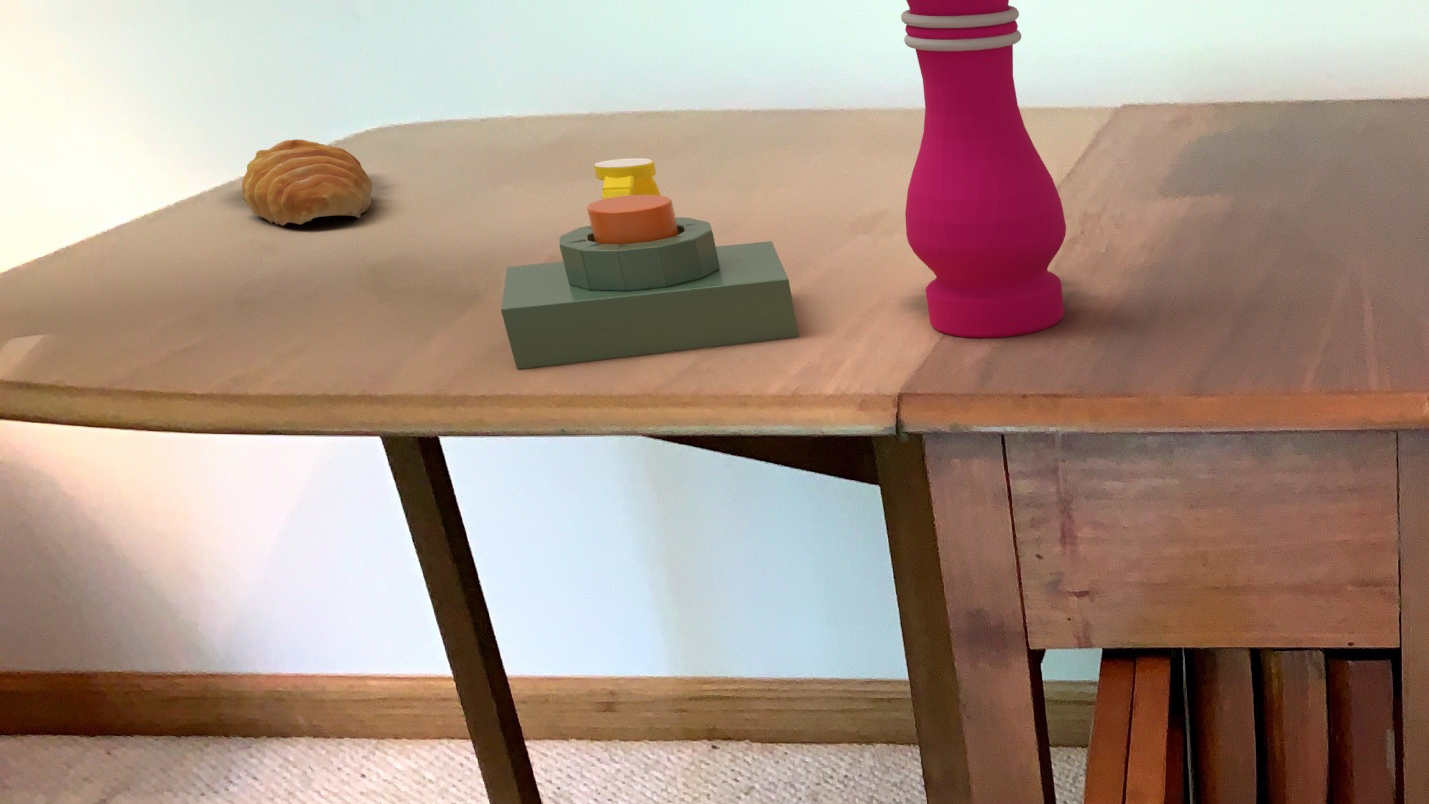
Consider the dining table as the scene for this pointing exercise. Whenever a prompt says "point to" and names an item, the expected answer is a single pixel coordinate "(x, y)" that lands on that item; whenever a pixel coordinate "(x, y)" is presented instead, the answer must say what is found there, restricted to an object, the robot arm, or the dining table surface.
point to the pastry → (305, 183)
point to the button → (632, 219)
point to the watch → (627, 177)
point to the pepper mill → (979, 178)
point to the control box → (645, 298)
